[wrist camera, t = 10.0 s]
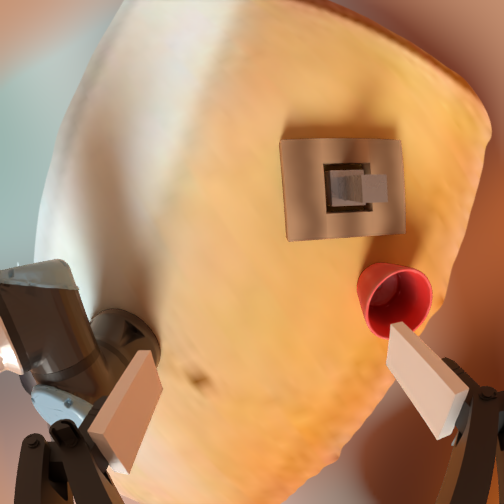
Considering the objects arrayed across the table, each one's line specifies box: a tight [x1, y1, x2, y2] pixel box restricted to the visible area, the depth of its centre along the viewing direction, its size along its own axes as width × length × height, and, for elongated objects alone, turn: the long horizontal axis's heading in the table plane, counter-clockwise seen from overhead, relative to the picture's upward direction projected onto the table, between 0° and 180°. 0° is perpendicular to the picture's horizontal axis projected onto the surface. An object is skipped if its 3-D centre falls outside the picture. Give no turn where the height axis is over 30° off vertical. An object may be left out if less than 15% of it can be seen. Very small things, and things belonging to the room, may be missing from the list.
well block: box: [279, 138, 406, 242], centre depth 40 cm, size 18×14×4 cm
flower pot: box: [357, 263, 432, 340], centre depth 40 cm, size 11×11×10 cm
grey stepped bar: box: [324, 170, 388, 207], centre depth 35 cm, size 5×5×14 cm
